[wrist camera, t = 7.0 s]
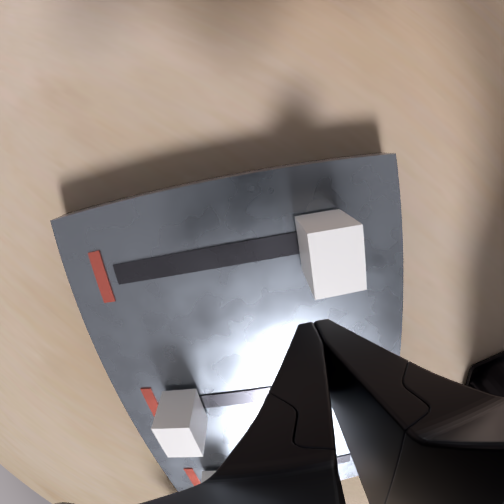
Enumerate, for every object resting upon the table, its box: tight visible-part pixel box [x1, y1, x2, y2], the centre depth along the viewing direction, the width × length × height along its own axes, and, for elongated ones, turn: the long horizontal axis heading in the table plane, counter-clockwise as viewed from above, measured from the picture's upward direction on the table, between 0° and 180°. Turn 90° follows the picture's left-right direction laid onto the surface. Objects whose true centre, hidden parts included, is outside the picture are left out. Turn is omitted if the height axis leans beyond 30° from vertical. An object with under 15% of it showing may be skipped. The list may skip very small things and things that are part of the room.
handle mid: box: [151, 389, 208, 457], centre depth 18 cm, size 2×3×4 cm
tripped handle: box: [294, 209, 367, 300], centre depth 15 cm, size 2×3×4 cm
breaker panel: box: [51, 153, 403, 492], centre depth 21 cm, size 20×28×2 cm
